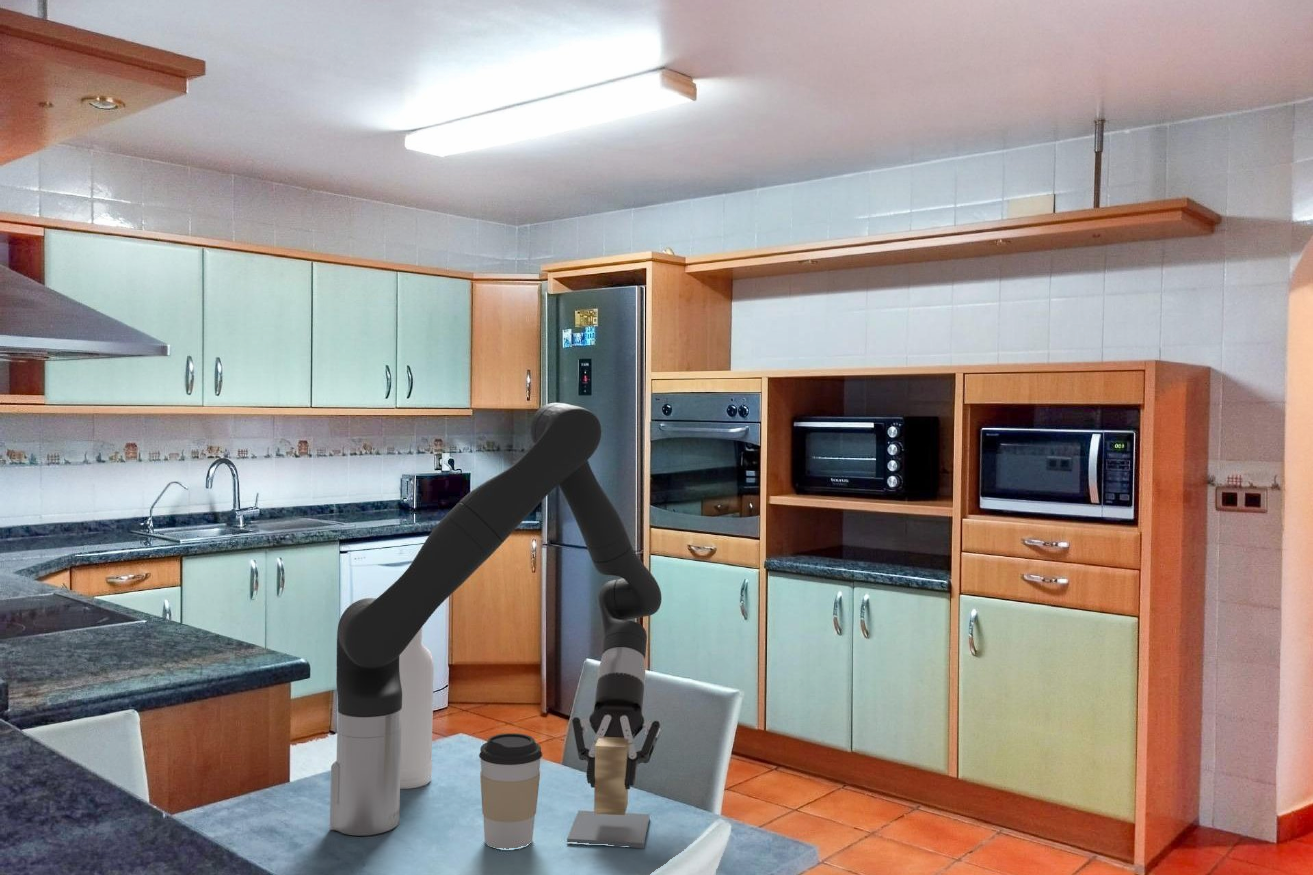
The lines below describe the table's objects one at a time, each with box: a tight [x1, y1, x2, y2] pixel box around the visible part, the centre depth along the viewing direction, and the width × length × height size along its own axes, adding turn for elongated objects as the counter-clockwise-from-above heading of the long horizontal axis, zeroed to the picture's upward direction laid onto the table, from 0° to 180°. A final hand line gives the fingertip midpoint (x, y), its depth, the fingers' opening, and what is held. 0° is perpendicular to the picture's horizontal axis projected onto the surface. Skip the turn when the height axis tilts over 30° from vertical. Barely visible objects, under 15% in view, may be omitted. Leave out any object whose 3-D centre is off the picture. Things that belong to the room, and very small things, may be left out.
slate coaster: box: [566, 809, 650, 849], centre depth 151 cm, size 11×11×1 cm
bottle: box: [399, 627, 435, 790], centre depth 170 cm, size 8×8×30 cm
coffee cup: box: [478, 732, 543, 849], centre depth 147 cm, size 9×9×15 cm
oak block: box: [593, 737, 629, 815], centre depth 151 cm, size 4×4×10 cm
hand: (610, 785), depth 149 cm, fingers closed on oak block, 4 cm apart
